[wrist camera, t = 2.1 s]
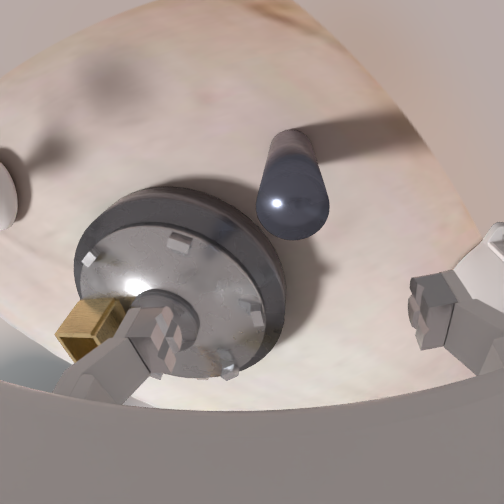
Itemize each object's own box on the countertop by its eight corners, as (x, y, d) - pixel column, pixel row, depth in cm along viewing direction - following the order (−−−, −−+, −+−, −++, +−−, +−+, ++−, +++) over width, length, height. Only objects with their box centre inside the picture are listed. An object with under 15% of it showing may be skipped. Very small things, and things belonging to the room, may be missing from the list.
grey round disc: (240, 203, 28) (225, 246, 22) (280, 367, 39) (277, 416, 32) (55, 240, 32) (18, 275, 26) (128, 368, 43) (111, 407, 37)
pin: (308, 126, 28) (324, 167, 16) (315, 167, 30) (332, 235, 18) (266, 133, 29) (248, 178, 17) (274, 172, 31) (263, 244, 19)
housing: (262, 164, 30) (258, 179, 26) (298, 351, 43) (297, 376, 39) (60, 211, 35) (40, 228, 32) (135, 356, 48) (126, 377, 44)
